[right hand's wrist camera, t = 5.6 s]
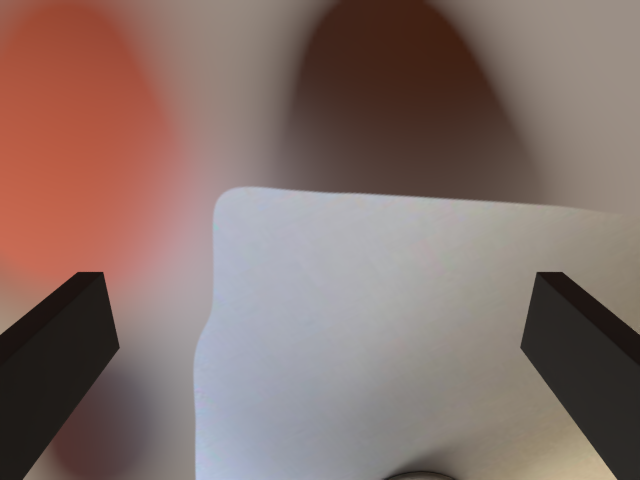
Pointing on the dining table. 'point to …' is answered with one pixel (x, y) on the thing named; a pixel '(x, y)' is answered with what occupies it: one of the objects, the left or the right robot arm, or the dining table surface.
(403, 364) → the dining table surface
